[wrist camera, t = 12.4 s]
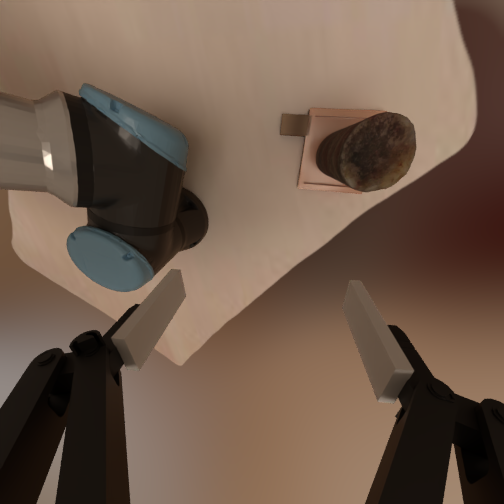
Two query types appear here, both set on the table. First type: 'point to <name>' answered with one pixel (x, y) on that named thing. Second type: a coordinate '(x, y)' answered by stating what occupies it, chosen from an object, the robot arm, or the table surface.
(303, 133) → the matchbox
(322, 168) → the dark brown tall piece
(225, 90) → the table surface
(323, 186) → the dish
